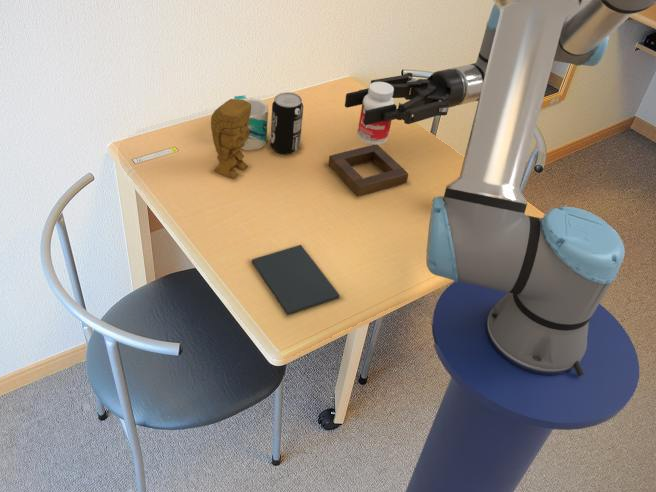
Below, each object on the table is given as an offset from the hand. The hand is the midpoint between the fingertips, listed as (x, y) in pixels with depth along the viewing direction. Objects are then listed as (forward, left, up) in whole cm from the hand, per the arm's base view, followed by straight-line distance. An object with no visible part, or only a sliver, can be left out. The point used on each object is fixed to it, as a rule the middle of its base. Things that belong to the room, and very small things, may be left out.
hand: (356, 109), depth 125 cm
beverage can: (+16, +6, -17) cm, 24 cm away
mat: (-21, +23, -17) cm, 36 cm away
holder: (+1, -6, -17) cm, 18 cm away
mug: (+24, +12, -17) cm, 32 cm away
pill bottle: (0, -5, -8) cm, 9 cm away
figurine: (+14, +20, -17) cm, 30 cm away
